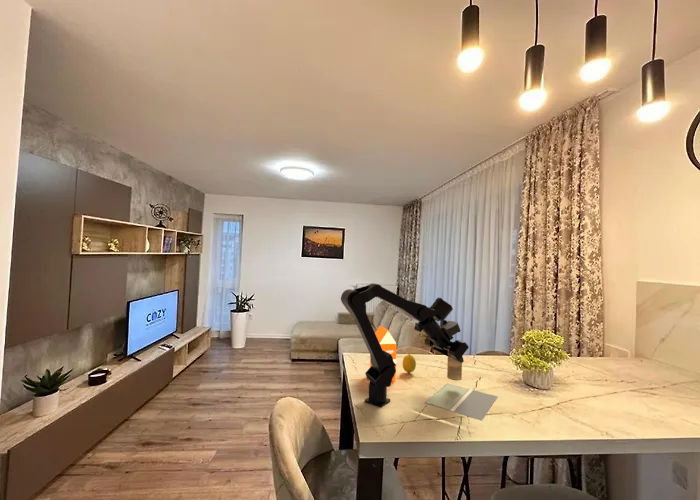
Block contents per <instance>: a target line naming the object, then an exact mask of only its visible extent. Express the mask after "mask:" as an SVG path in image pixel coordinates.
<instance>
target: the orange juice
mask: <svg viewBox="0 0 700 500" xmlns="http://www.w3.org/2000/svg"><path fill="white" fill-rule="evenodd" d="M374 332H375V334H376V336H377V339H378V341H379V343H380V345H381V348H382V350H384V351H386V352H388V353H389V354H391V355H392V357H393V361H394V363H395V364H396V366H395V368H396V369H397V342H396V340H395V338H394V337H393V335H392V334H391V333H390V330H389V329H387V328H385V327H383V326H381V325H379V326H378V328H377V329H376V331H374ZM370 367H371V362H370V361H369V368H370ZM396 374H397V372H396V373H395V375H394V377H393V379H392V382H396V378H397V377H396V376H397V375H396ZM392 382H391V383H392Z"/></svg>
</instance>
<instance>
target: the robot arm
mask: <svg viewBox="0 0 700 500" xmlns="http://www.w3.org/2000/svg"><path fill="white" fill-rule="evenodd" d="M375 298H378V299H380V300H382V301H383V302H385V303H387V304H388V305H391V306H393V307H396V308H397V309H399V310H401V312H402V313H403V314H404V315H406V316H407V317H408V318H410V319H412V320H414V321H418V322H415V323H414V324H415V325H414V331H417V332H419V333H421V332H422V331H423V332H424V334H425V335H426V338H424V344H425V346H426V347H427V348H429V349H433V350H434V351H435V352H437V353H440V354H442V355H444V356H446V357H448V356H449V357H451V358H453V359H455V360H457V361H459V362H461V363H462V364H463V363H464V362H465V360H464V356H463V355H464V354H465V353H466V352H467V351H468V349H469V345H468V343H467V342H465V341H462V340H460V339H456V340H455V341H452V340H453V339H454V336H455V335H456V334H458V333H460V332H461V328H460V325H459V323H458V322H456V321H453V320H448V321H447V320H446V319H447V317H448V316H449V315H450V313H451V312H452V311H453V309H454V308H453V307H452V305H451V304H450V303H448V302H447V301H446V300H444V299H443V298H442V297H437V298H436V299H435V301H434V302H433V303H432V305H431V306H430V307H428V306H427V305H425V304H422V303H418V302H415V301H412V300H408V299H406V298H404V297H402V296H401V295H398V294H397V293H394V292H393V291H390V290H388V289H387V288H385V287H383V286H382V285H381V284H378V283H375V282H374V283H370V284H368V285H365V286H361V287H357V288H355V289H351V288H350V289H349V288H348V289H346V290H343V292H342V294H341V296H340V301H341V304H342V305H343V306H344V308H345V309H346V310H347V311H348V313H349V314H350V316H352V318H353V319H354V322H355V324H356V326H357V328H358V331H359V333H360V334H361V336H362V337H361V338H362V339H363V341H364V344H365V346H366V348H367V350H368V352H369V363H370V362H371V367H370V366H369V368H368V369H367V370H366V372H365V373H364V374H365V378H366V379H367V380H369V383H368V396H367V398H365V399H364V402H365V403H367V404H370V405H373V406H377V407H379V408H382V407H383V406H385V405H386V404H388V403H389V402H390V401H391V398H388V397H387V394H388V391H387V390H388V389H387V388H388V387H389V388H390V387H391V384H392V379H393V377H394V375H395V373H396V374H397V363H396V364H395V363H394V361H393V357H392V355H391V354H389V353H388V352H386V351H384V350H382V348H381V345H380V343H379V341H378V339H377V336H376V334H375V332H376V331H375V330H374V328H373V326H372V324H371V321H370V319H369V317H368V314H367V304H366V303H369V302H371V301H372V300H373V299H375ZM438 322H439V323H438ZM448 349H449V350H448ZM448 354H449V355H448ZM395 366H396V368H395Z"/></svg>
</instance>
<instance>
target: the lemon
mask: <svg viewBox="0 0 700 500" xmlns="http://www.w3.org/2000/svg"><path fill="white" fill-rule="evenodd" d="M416 366H417V361H416V358H415V357H414V356H413V355H411V354H407V355H405V356H403V359H402V368H403V370H404V371H405V372H406V373H408V374H411V373H413V372H414V371H415V370H416Z"/></svg>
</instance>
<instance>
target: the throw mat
mask: <svg viewBox="0 0 700 500" xmlns="http://www.w3.org/2000/svg"><path fill="white" fill-rule="evenodd" d="M498 398H499V396H497V395H494V394H490V393H485V392H481V391H478V390H474V389H470V388H467V387H466V388H465V387H462V386H458V385H455V384H451V383H446V384H445V385H443V387H441V388H440V389H439V390H438V391H436V393H434V394H433V395H432V396H430V398H428V399H427V400H426V401H424V404H426V405H429V406H432V407H433V406H434V407H436V408H439V409H444V410H446V411H449V412H453V413H456V414H458V415H459V414H460V415H463V416H466V417H469V418H471V419H472V418H473V419H475V420H479V421H483V419H484V418H485V416H486V415H487V414H488V412H489V411H490V409H491V407H492V406H493V405H494V403H495V402H496V400H497V399H498Z"/></svg>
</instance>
